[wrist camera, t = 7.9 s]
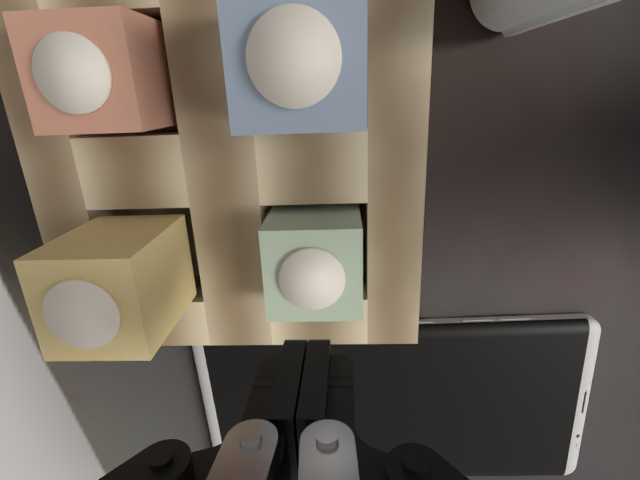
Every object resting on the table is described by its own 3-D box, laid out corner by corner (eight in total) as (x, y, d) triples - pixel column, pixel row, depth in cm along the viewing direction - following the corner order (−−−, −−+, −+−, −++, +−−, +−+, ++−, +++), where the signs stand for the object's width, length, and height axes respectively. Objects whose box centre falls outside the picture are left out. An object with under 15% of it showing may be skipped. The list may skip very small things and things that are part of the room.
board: (418, -52, 21) (439, -88, 16) (405, 304, 27) (417, 343, 23) (32, -30, 22) (-42, -59, 17) (111, 308, 28) (72, 346, 24)
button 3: (358, 8, 18) (368, -33, 12) (359, 119, 19) (367, 132, 13) (252, 13, 18) (211, -24, 12) (261, 122, 20) (228, 136, 14)
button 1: (178, 27, 21) (115, 3, 15) (191, 121, 23) (139, 133, 17) (90, 32, 21) (-5, 10, 15) (109, 124, 23) (29, 136, 17)
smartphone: (195, 321, 29) (186, 335, 28) (591, 307, 28) (607, 321, 26) (223, 463, 34) (217, 482, 32) (565, 459, 32) (577, 479, 30)
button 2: (184, 214, 21) (125, 261, 15) (196, 293, 23) (147, 364, 17) (97, 216, 22) (7, 264, 16) (116, 295, 23) (39, 365, 17)
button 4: (356, 195, 24) (363, 231, 18) (357, 269, 25) (363, 324, 19) (277, 197, 24) (256, 233, 18) (282, 270, 25) (265, 325, 20)
